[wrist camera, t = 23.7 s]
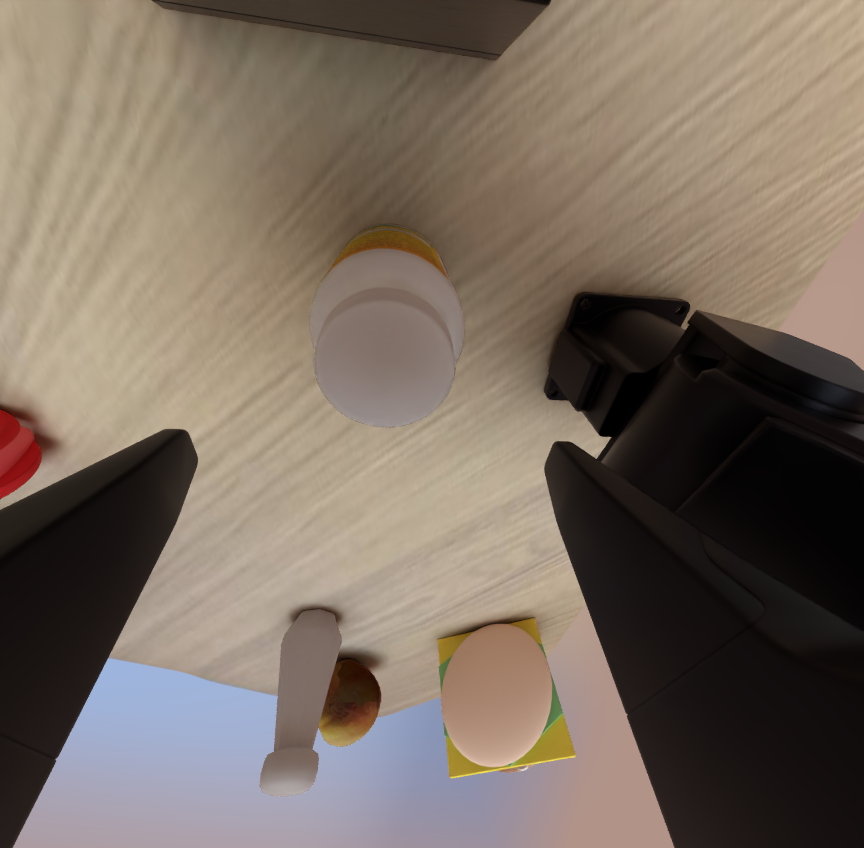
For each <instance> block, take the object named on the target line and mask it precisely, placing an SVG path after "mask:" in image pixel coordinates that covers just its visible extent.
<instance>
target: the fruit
mask: <svg viewBox="0 0 864 848" xmlns="http://www.w3.org/2000/svg"><path fill="white" fill-rule="evenodd" d="M380 703H381V691H380V687H379V684H378V682H377V680H376V678H375V676H374V675H373V674H372V673H371V671H370V670H369V669H367V668H366V667H364V666H362V665H360V664H359V663H357V662H356V661H354V660H352V659H345V660H342V661H340V662H339V663H336V664H335V667H334V671H333V674H332V678H331V681H330V685H329V689H328V692H327V696H326V700H325V704H324V707H323V711H322V715H321V719H320V722H319V726H318V728H319V729H320V732H321V734H322V736H323V738H324V740H325V741H326V742H327V743H328V744H330V745H334V746H340V747H343V746H348V745H351V744H352V743H354V742H356V741H357V740H359V739H360V738H362V737H363V736H364V735H365V734H366V733H367V732H368V731H369V730H370V728H371V727H372V725H373V724H374V722H375V720H376V718H377V715H378V711H379V708H380Z"/></svg>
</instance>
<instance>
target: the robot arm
mask: <svg viewBox="0 0 864 848" xmlns="http://www.w3.org/2000/svg"><path fill="white" fill-rule="evenodd" d="M585 299H587V303H586V304H585V305H584V306H581V303H582V301H583V300H585ZM679 307H680V310H679V311H678V312H676V310H677V309H678V308H679ZM689 310H690V304H689V303H688V302H686V301H684V300H681V299H671V298H658V297H645V296H632V295H620V294H607V293H594V292H582V293H580V294H578V295H577V296H576V297H575V299H574V302H573V305H572V308H571V311H570V314H569V317H568V320H567V323H566V326H565V329H564V330H563V331H562V332H561V333H560V336H559V339H558V342H557V345H556V348H555V351H554V354H553V357H552V360H551V364H550V367H549V370H548V372H549V374H550V375H549V378H548V381H547V384H546V387H545V390H544V393H545V395H546V396H547V398H548V399H550V400H567V401H569V402H570V403H571V404H572V406H573V407H574V409H575V410H576V411H580V412H582V413H583V414H584V415H585V417H586V418H587V419H588V421H589V422H590V423H591V425H592V426H593V427H594V429H595V430H596V431H597V433H598V434H599V435H600V436H602V437H612V438H611V439H610V440H609V442H608V443H607V445H606V446H605V448H604V449H603V451H602V452H601V454H600V455H599V456H598V458H597V459H595V458H594V457H593V456H591V455H590V454H588V453H587V452H585V451H584V450H582V449H581V448H579V447H578V446H576V445H575V444H573V443H572V442H565V441H557V442H555V443H554V444H553V446H552V448H551V450H550V453H549V455H548V458H547V460H546V463H545V467H544V471H545V476H546V480H547V484H548V489H549V493H550V497H551V501H552V505H553V509H554V514H555V517H556V521H557V524H558V527H559V530H560V533H561V536H562V539H563V541H564V544H565V547H566V550H567V552H568V555H569V558H570V561H571V563H572V566H573V569H574V572H575V574H576V577H577V580H578V583H579V585H580V588H581V591H582V594H583V596H584V599H585V602H586V605H587V607H588V610H589V613H590V616H591V618H592V621H593V624H594V627H595V629H596V632H597V635H598V638H599V640H600V643H601V646H602V648H603V651H604V654H605V657H606V660H607V662H608V665H609V668H610V671H611V673H612V676H613V679H614V682H615V684H616V687H617V690H618V693H619V695H620V698H621V701H622V704H623V706H624V709H625V712H626V714H628V715H627V718H628V721H629V724H630V727H631V729H632V732H633V735H634V737H635V740H636V743H637V746H638V749H639V751H640V754H641V757H642V759H643V762H644V765H645V768H646V771H647V773H648V776H649V779H650V781H651V784H652V787H653V790H654V792H655V795H656V798H657V801H658V804H659V806H660V809H661V812H662V815H663V817H664V820H665V823H666V825H667V828H668V831H669V834H670V837H671V839H672V842H673V845H674V847H675V848H864V371H863V370H862V369H861V368H860V367H858V366H857V365H856V364H855V363H854V362H853V361H852V360H850V359H849V358H847V357H844V356H842V355H840V354H837V353H835V352H832V351H830V350H827V349H825V348H822V347H820V346H817V345H814V344H812V343H809V342H807V341H804V340H802V339H799V338H797V337H794V336H792V335H789V334H786V333H783V332H779V331H775V330H772V329H768V328H764V327H760V326H756V325H753V324H749V323H745V322H741V321H737V320H734V319H730V318H726V317H722V316H718V315H715V314H711V313H707V312H703V311H699V310H696V311H695V312H694V314H693V315H692V317H691V318H690V320H689V321H688V324H689V326H688V327H687V329H686V330H684V329H682V328H680V327H681V325H682V323H683V322H684V320H685V318H686V316H687V314H688V312H689ZM553 390H556V391H555V392H554V393H551V391H553ZM197 464H198V457H197V453H196V451H195V448H194V446H193V443H192V440H191V438H190V435H189V433H188V432H187V431H186V430H183V429H164V430H162V431H160V432H158V433H156V434H154V435H152V436H150V437H148V438H146V439H144V440H142V441H140V442H137V443H135V444H133V445H131V446H129V447H127V448H125V449H123V450H121V451H119V452H117V453H115V454H113V455H111V456H109V457H107V458H105V459H103V460H101V461H99V462H97V463H95V464H93V465H91V466H89V467H87V468H85V469H83V470H81V471H79V472H77V473H75V474H73V475H70V476H68V477H66V478H64V479H62V480H60V481H58V482H56V483H54V484H52V485H50V486H48V487H46V488H44V489H42V490H40V491H38V492H36V493H34V494H32V495H30V496H28V497H26V498H24V499H22V500H20V501H18V502H16V503H14V504H12V505H10V506H8V507H6V508H3V509H1V510H0V848H13V846H14V844H15V842H16V840H17V838H18V836H19V834H20V832H21V830H22V828H23V826H24V824H25V822H26V820H27V818H28V816H29V814H30V812H31V810H32V808H33V806H34V804H35V802H36V800H37V798H38V796H39V794H40V792H41V790H42V788H43V786H44V784H45V783H46V781H47V779H48V777H49V775H50V772H51V771H52V768H53V767H54V765H55V762H56V760H55V759H56V758H57V757H58V756H59V754H60V752H61V750H62V748H63V746H64V744H65V742H66V740H67V738H68V736H69V734H70V732H71V730H72V728H73V726H74V724H75V722H76V720H77V718H78V716H79V714H80V712H81V710H82V709H83V706H84V705H85V703H86V700H87V699H88V697H89V695H90V693H91V691H92V689H93V687H94V685H95V683H96V681H97V679H98V677H99V675H100V673H101V671H102V669H103V667H104V665H105V663H106V661H107V659H108V657H109V655H110V653H111V651H112V649H113V647H114V645H115V643H116V641H117V639H118V637H119V635H120V633H121V631H122V629H123V627H124V625H125V623H126V621H127V620H128V618H129V616H130V614H131V612H132V610H133V608H134V606H135V604H136V602H137V600H138V598H139V596H140V594H141V592H142V590H143V588H144V586H145V584H146V582H147V580H148V578H149V576H150V574H151V572H152V570H153V568H154V566H155V564H156V562H157V560H158V558H159V556H160V554H161V552H162V550H163V548H164V546H165V544H166V542H167V540H168V538H169V536H170V534H171V532H172V530H173V528H174V526H175V524H176V522H177V519H178V517H179V514H180V512H181V509H182V506H183V503H184V501H185V498H186V495H187V492H188V490H189V487H190V484H191V481H192V479H193V476H194V473H195V471H196V468H197Z"/></svg>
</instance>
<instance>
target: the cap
mask: <svg viewBox="0 0 864 848" xmlns="http://www.w3.org/2000/svg"><path fill="white" fill-rule="evenodd" d="M41 459H42V453H41V449H40V447H39V445H38V444H37V443H36V442H35V441H34V435H33V433H32V432H31V431H30V430H29V429H28V428H25V427H20V424H19V422H18V421H17V420H16V419H15V418H14V417H13V416H11V415H10V414H8V413H7V412H5V411H3V410H0V499H1V498H3V497H5V496H7V495H9V494H10V493H12V492H14V491H15V490H17V489H18V488H19V487H21V486H22V485H23V484H25V483H26V482H27V481H28V480H29V479H30V478H31V477H32V476H33V475H34V474H35V472H36V471H37V469H38V467H39V465H40V463H41Z"/></svg>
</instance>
